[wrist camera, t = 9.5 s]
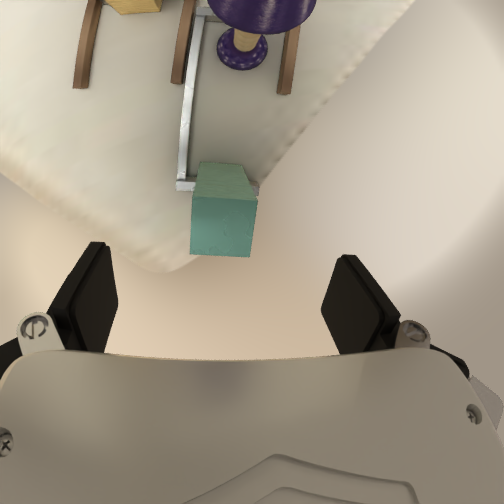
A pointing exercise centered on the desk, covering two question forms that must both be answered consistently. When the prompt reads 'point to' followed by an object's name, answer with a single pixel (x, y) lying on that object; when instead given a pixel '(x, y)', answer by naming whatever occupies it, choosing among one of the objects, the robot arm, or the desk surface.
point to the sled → (134, 6)
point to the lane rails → (180, 51)
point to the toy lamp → (255, 27)
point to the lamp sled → (214, 180)
